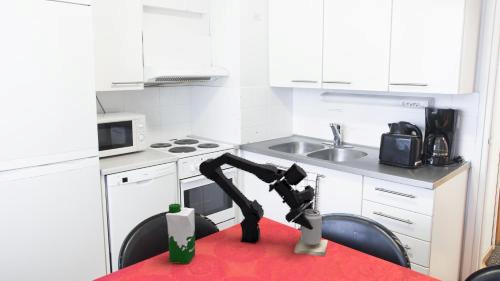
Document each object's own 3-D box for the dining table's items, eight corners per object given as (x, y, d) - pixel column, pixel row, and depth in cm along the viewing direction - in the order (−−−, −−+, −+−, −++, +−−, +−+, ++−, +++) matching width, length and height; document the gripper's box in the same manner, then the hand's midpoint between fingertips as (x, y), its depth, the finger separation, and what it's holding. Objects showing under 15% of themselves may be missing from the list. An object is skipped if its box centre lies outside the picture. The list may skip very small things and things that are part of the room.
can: (324, 244, 148) (325, 213, 146) (305, 246, 146) (306, 215, 144) (316, 236, 155) (317, 206, 153) (298, 238, 154) (298, 208, 152)
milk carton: (175, 252, 149) (173, 201, 146) (198, 254, 148) (196, 202, 144) (166, 263, 141) (163, 209, 137) (190, 265, 139) (188, 210, 136)
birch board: (294, 252, 148) (294, 249, 147) (299, 240, 158) (299, 237, 158) (324, 256, 145) (324, 252, 144) (327, 243, 155) (327, 240, 155)
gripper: (294, 187, 140) (324, 222, 137) (309, 174, 157) (336, 205, 154) (273, 205, 145) (301, 239, 142) (289, 191, 161) (315, 221, 159)
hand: (315, 225), depth 149 cm, fingers closed on can, 7 cm apart
